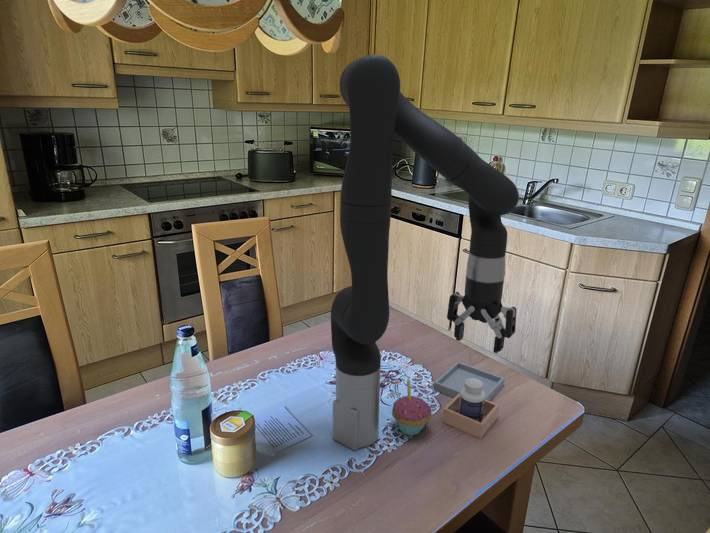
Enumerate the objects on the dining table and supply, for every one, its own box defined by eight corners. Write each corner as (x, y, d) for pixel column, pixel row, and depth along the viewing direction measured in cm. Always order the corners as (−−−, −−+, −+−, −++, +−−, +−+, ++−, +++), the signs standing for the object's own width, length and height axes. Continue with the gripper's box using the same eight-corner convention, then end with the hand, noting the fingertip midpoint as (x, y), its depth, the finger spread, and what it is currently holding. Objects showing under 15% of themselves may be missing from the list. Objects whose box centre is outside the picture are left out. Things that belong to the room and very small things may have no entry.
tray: (482, 409, 113) (483, 401, 113) (433, 389, 121) (434, 382, 120) (503, 385, 123) (504, 378, 122) (457, 368, 131) (457, 361, 130)
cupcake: (384, 422, 108) (385, 376, 104) (415, 412, 112) (418, 367, 108) (405, 445, 101) (407, 396, 97) (438, 434, 105) (441, 386, 101)
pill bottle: (484, 427, 107) (489, 390, 104) (460, 427, 107) (464, 389, 104) (479, 413, 112) (483, 376, 109) (456, 412, 112) (459, 375, 109)
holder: (480, 438, 103) (482, 425, 102) (442, 421, 109) (443, 408, 108) (497, 418, 110) (499, 404, 109) (460, 402, 116) (461, 390, 115)
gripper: (444, 271, 99) (439, 342, 105) (512, 288, 91) (503, 363, 97) (461, 262, 105) (455, 330, 110) (526, 277, 97) (516, 349, 102)
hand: (477, 345), depth 103 cm, fingers open, 8 cm apart
